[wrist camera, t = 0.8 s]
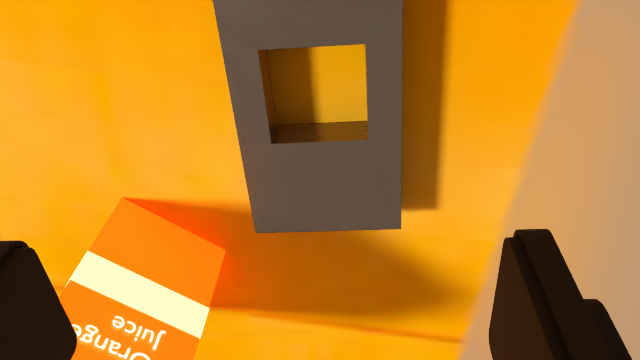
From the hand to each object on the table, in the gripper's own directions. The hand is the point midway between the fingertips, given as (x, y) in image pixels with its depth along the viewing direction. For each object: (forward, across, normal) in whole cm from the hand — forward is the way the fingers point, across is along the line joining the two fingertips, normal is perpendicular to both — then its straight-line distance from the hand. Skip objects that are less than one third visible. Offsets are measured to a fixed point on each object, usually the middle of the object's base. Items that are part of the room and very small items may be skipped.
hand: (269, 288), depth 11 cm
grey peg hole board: (+23, +1, +6) cm, 24 cm away
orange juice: (+23, +14, +20) cm, 34 cm away
